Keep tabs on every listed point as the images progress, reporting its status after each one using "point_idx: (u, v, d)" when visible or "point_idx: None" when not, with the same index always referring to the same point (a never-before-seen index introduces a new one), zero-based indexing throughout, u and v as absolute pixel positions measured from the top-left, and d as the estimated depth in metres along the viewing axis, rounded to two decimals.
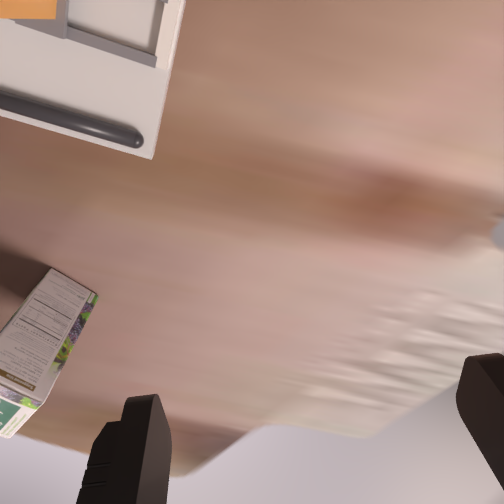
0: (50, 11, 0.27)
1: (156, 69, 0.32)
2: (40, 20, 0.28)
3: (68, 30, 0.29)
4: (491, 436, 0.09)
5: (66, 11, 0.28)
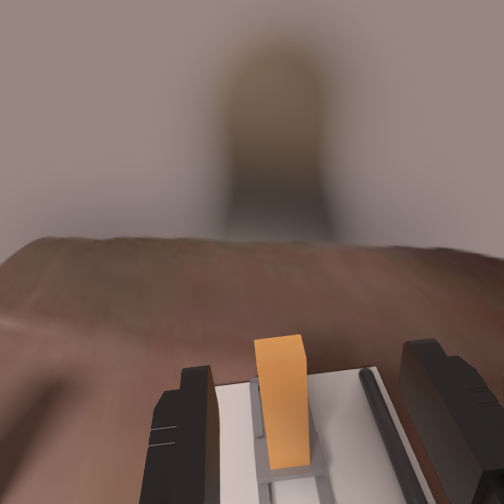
0: (275, 462, 0.30)
1: None
2: (263, 458, 0.31)
3: (265, 485, 0.30)
4: (423, 416, 0.10)
5: (280, 478, 0.30)
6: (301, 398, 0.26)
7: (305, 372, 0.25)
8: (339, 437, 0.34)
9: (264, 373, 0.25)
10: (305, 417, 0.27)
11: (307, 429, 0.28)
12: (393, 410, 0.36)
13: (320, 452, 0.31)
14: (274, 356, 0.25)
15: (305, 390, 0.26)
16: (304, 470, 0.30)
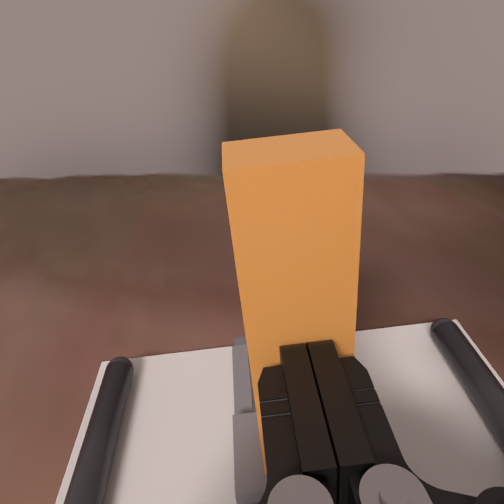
0: None
1: None
2: (252, 451, 0.15)
3: None
4: None
5: None
6: (341, 296, 0.10)
7: (358, 209, 0.09)
8: (410, 445, 0.17)
9: (245, 208, 0.09)
10: (347, 350, 0.11)
11: None
12: None
13: None
14: (275, 157, 0.09)
15: (353, 271, 0.10)
16: None
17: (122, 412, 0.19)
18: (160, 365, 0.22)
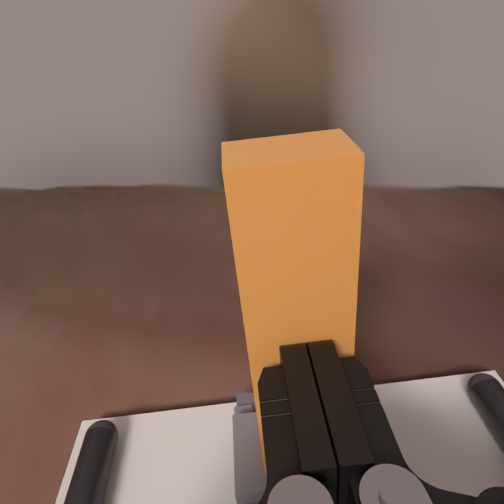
0: None
1: None
2: (252, 451, 0.15)
3: None
4: None
5: None
6: (341, 295, 0.10)
7: (358, 209, 0.09)
8: None
9: (245, 208, 0.09)
10: (347, 350, 0.11)
11: None
12: None
13: None
14: (274, 156, 0.09)
15: (353, 270, 0.10)
16: None
17: (102, 497, 0.15)
18: (150, 426, 0.19)
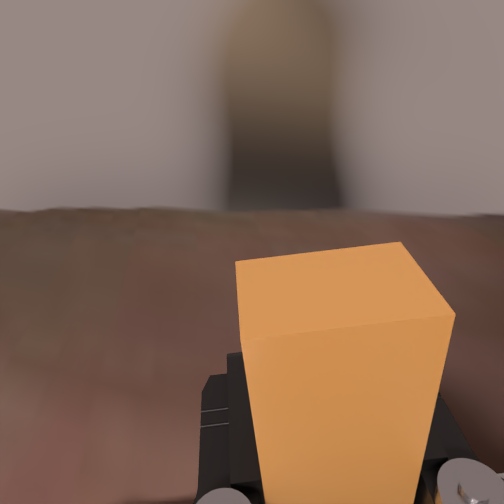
0: None
1: None
2: None
3: None
4: None
5: None
6: (400, 468, 0.08)
7: (436, 378, 0.06)
8: None
9: (273, 381, 0.06)
10: None
11: None
12: None
13: None
14: (317, 309, 0.06)
15: (420, 442, 0.07)
16: None
17: None
18: None
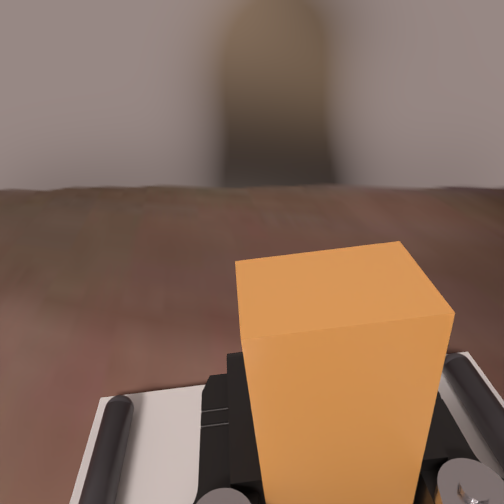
0: None
1: None
2: None
3: None
4: None
5: None
6: (399, 467, 0.08)
7: (436, 377, 0.06)
8: None
9: (273, 381, 0.06)
10: None
11: None
12: None
13: None
14: (317, 309, 0.06)
15: (419, 441, 0.07)
16: None
17: (122, 458, 0.18)
18: (162, 402, 0.21)
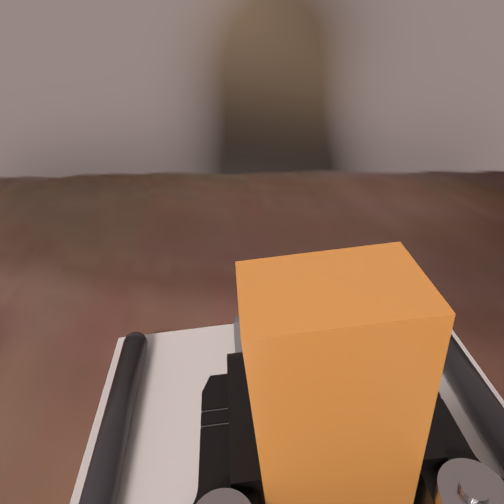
0: None
1: None
2: None
3: None
4: None
5: None
6: (400, 468, 0.08)
7: (436, 378, 0.06)
8: None
9: (273, 381, 0.06)
10: None
11: None
12: (470, 359, 0.21)
13: None
14: (317, 309, 0.06)
15: (420, 442, 0.07)
16: None
17: (139, 377, 0.22)
18: (171, 340, 0.25)
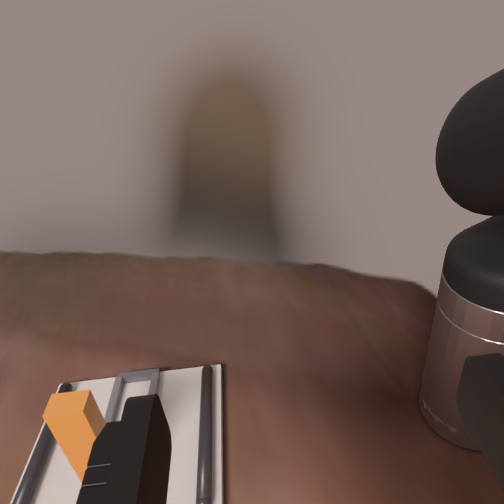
0: None
1: None
2: None
3: None
4: (491, 436, 0.09)
5: None
6: (92, 442, 0.32)
7: (87, 422, 0.30)
8: (171, 418, 0.44)
9: (52, 423, 0.30)
10: None
11: None
12: (219, 398, 0.46)
13: None
14: (60, 409, 0.30)
15: (93, 435, 0.31)
16: None
17: None
18: (85, 385, 0.49)
